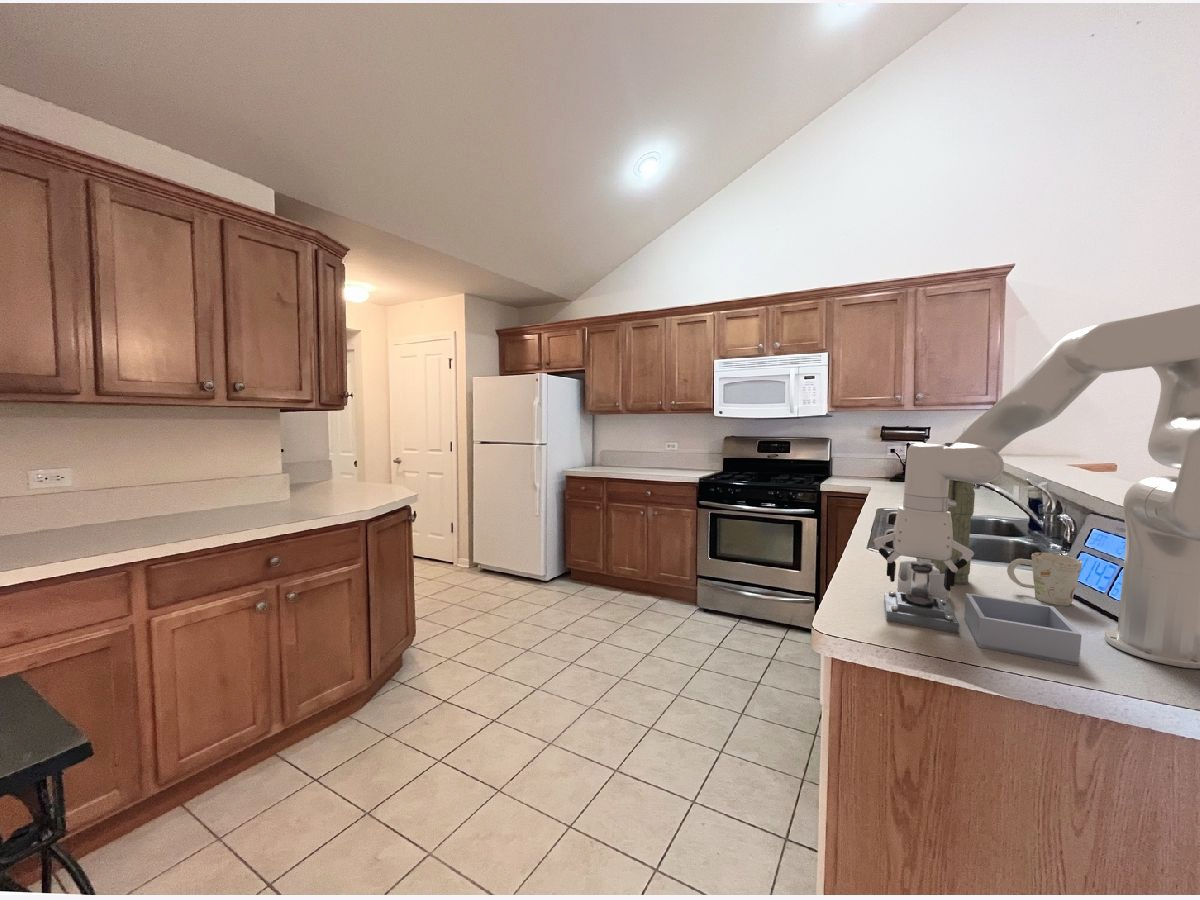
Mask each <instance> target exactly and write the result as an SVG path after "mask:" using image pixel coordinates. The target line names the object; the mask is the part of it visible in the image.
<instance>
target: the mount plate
mask: <svg viewBox="0 0 1200 900" xmlns="http://www.w3.org/2000/svg"><path fill="white" fill-rule="evenodd" d="M905 601H906V593H903V592H898V590H896V591H895V592H894V591H889V592H886V591H885V592H884V595H883V604H885V605H884V610H885V618H886V621H888V622H893V623H898V624H902V625H903V624H904V625H909V626H915V627H920V628H924V629H930V630H935V631H937V630H938V631H943V632H948V633H953V634H959V633H960V632H959V630H960V622H959V619H958V617H957V615H956V613H955V612H954V609H953V607H952V605H951V603H950V601H945V600H941V599H940V598H935V597H933V608H928V607H922V606H916V605H910V604H905Z"/></svg>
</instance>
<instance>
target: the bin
mask: <svg viewBox="0 0 1200 900" xmlns="http://www.w3.org/2000/svg"><path fill="white" fill-rule="evenodd" d="M964 598H965V601H964V614H963V620H964V622H965V624H966V626H967V627H968V630H969V632H970V634H971V636H972V638H973V640H974V643H975V644H976V646H977V647H978V648H982V649H987V650H992V651H993V650H994V651H997V652H1003V653H1008V654H1013V655H1019V656H1024V657H1029V658H1034V659H1039V660H1044V661H1050V662H1056V663H1060V664H1067V665H1071V666H1075V667H1079V665H1080V657H1081V647H1082V646H1081V644H1082V633H1081V632H1080V631H1079V630H1078V629H1077V628H1076V627H1075V626H1074V625H1073V624H1071V622H1070V621H1069V620H1068V619H1067V618H1066V617H1065V616H1063V614H1061V613H1060V611H1058V610H1057V608H1055V607H1054V606H1053V605H1046V604H1039V603H1034V602H1033V603H1032V602H1027V601H1021V600H1020V601H1019V600H1014V599H1008V598H1007V599H1006V598H1000V597H995V596H993V597H992V596H986V595H979V594H974V593H967V592H966V593H965V597H964Z"/></svg>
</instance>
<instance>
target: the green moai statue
mask: <svg viewBox="0 0 1200 900" xmlns="http://www.w3.org/2000/svg"><path fill="white" fill-rule="evenodd" d="M953 443H954V442H945V443H944V444H942V443H941V445H945V446H948V447H950V446H951V445H952V444H953ZM975 496H976V491H975V489H974V485H973V483H967V482H961V481H955V480H949V490H948V498H949V499H950V500H954V501H956V507H949V508H948V510H947V511H949V512H950V514H951V519H952V531H953V540H954V541H956V542H957V543H959V544H961V545H963V546H965V547H966V548H968V549H970V547H969V546H970V537H971V536H970V535H971V521H972V517H973V515H974V513H975V511H974V510H975V498H976V497H975ZM962 554H963V553H962V552H960V551H958V550H956V549H954V548H952V557H951V560H952V561H953V562H954V561H955V560H957V559H959V558H960V557H961V556H962ZM931 563H933V564H935V565H936V568H937V569H938V570H939V571H940V574H945V568H946V567H947V565H946V564H945V563H944V562H943V561H936V560H931ZM971 563H972V562H971V559H970V560H969V561H968V562H967V564H966V565H965V566H963V567H962V568H960V569H958V571H957V572H955V582H954V586H955V585H957V586H961V585H963V586H964V585H968V584H969V574H970V572H971Z"/></svg>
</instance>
